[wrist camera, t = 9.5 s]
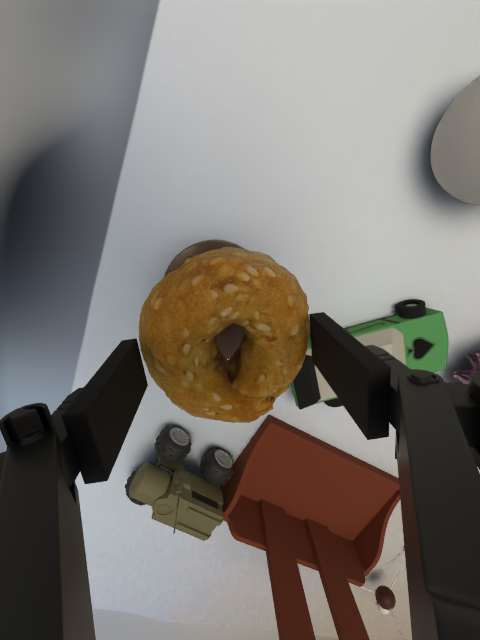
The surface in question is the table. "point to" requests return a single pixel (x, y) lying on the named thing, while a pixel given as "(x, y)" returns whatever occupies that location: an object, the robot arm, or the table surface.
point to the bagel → (213, 317)
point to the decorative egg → (459, 146)
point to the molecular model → (386, 599)
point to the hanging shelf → (309, 521)
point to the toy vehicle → (182, 486)
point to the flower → (464, 376)
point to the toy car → (393, 336)
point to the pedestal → (233, 333)
